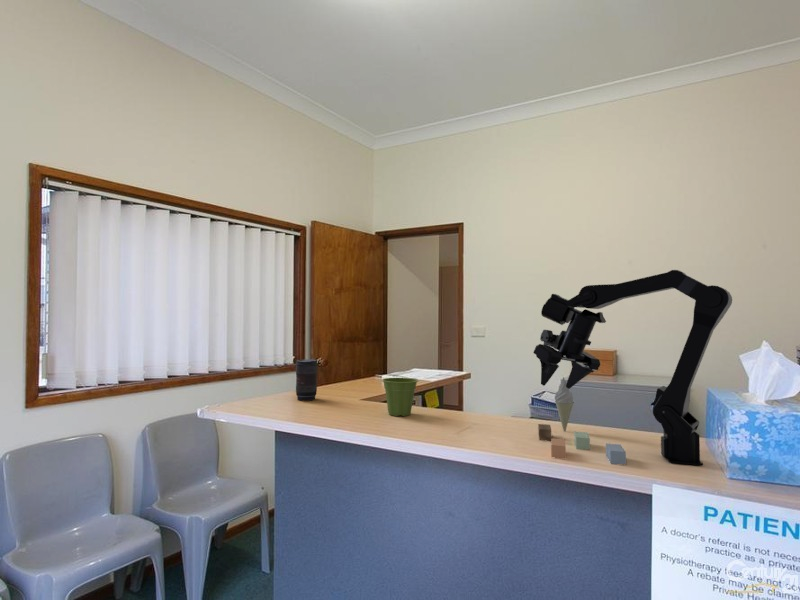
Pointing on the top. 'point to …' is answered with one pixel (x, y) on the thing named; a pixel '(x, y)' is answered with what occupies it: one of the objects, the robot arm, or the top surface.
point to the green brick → (582, 440)
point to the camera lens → (306, 379)
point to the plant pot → (399, 395)
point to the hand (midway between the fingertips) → (555, 386)
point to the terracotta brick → (558, 448)
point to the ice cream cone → (564, 403)
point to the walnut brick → (544, 432)
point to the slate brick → (615, 454)
